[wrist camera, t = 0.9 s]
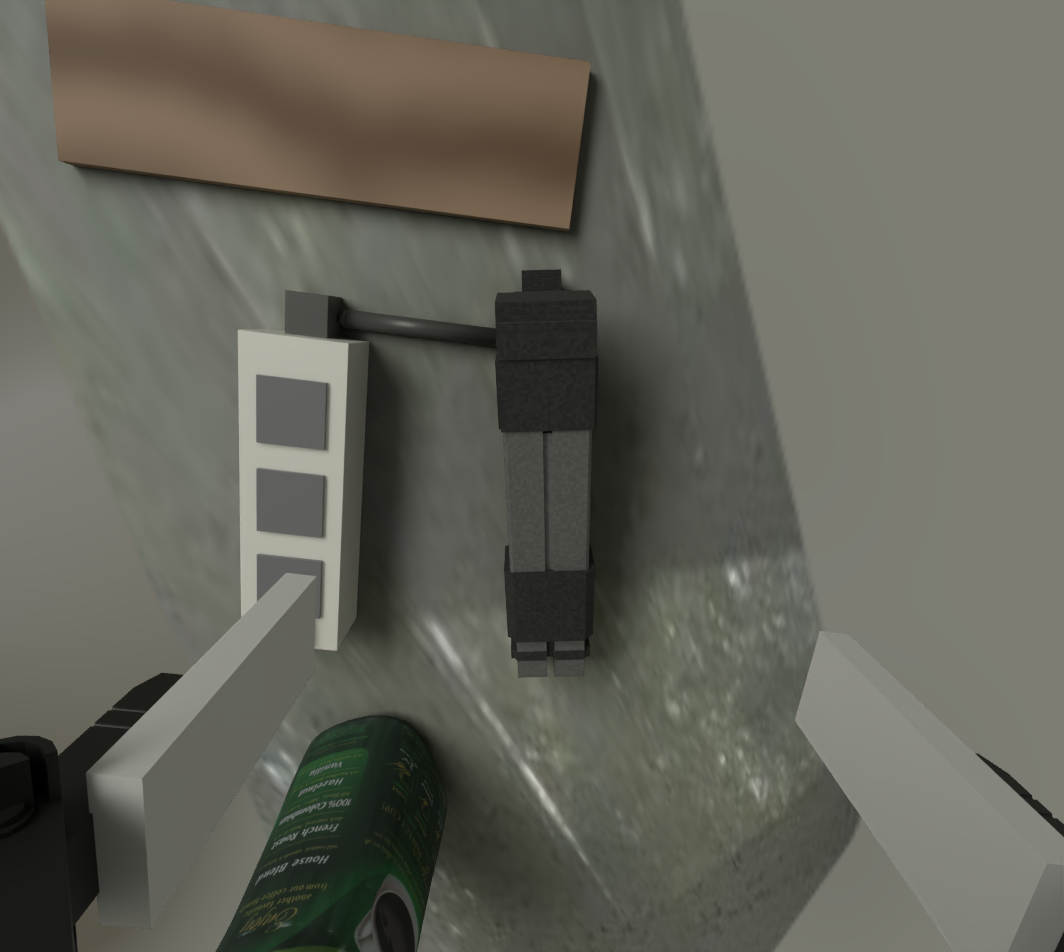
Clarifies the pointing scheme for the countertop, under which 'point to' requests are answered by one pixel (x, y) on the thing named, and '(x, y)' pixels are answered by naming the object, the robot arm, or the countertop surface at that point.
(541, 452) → the gun
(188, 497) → the countertop surface
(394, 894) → the coffee jar
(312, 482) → the power strip
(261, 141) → the walnut board
